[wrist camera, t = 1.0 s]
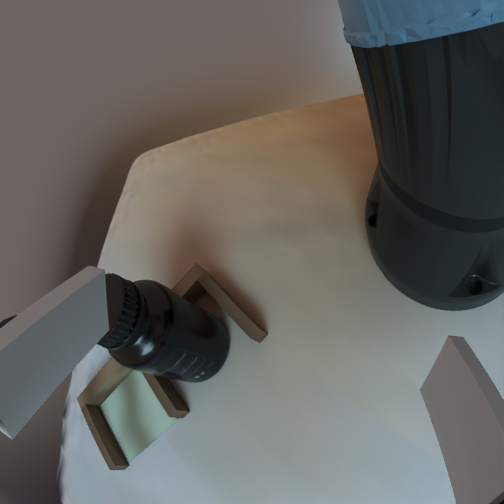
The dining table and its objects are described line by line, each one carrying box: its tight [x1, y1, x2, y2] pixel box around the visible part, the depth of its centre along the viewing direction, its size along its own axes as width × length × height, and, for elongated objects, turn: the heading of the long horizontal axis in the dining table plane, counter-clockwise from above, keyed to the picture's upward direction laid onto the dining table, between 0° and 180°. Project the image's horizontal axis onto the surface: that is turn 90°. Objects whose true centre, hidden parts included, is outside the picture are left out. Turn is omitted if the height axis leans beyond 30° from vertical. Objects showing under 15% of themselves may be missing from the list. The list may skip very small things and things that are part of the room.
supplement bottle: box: [97, 273, 229, 383], centre depth 23 cm, size 7×7×12 cm
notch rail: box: [77, 263, 268, 470], centre depth 27 cm, size 21×10×2 cm, turn 132°
